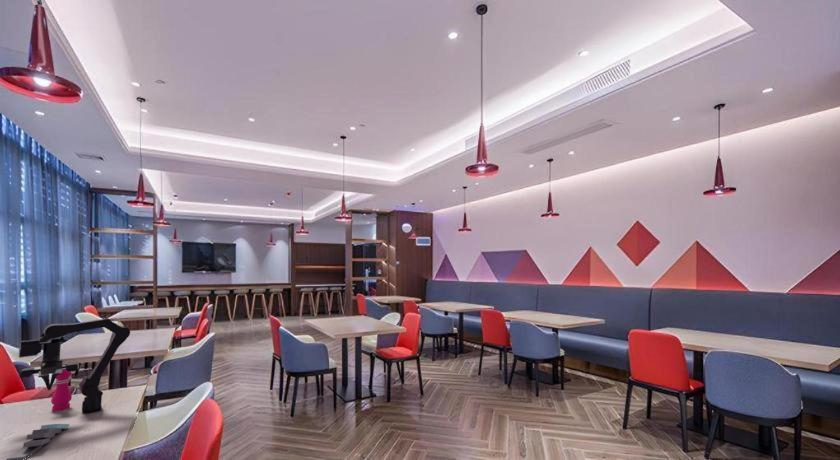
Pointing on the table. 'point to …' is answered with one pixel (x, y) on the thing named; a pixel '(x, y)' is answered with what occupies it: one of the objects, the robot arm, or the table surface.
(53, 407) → the pepper mill
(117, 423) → the table surface
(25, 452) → the domino
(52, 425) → the domino
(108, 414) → the table surface
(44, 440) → the domino
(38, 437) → the domino
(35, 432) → the domino
